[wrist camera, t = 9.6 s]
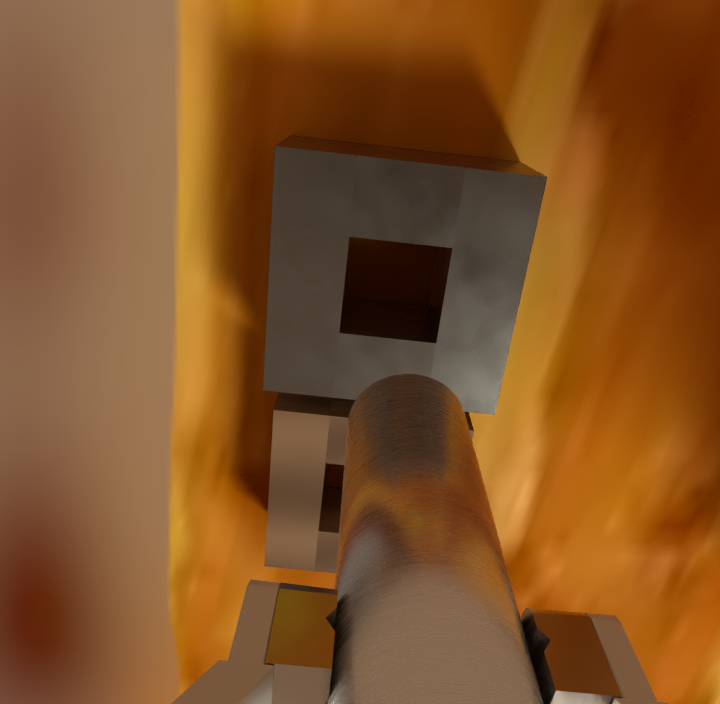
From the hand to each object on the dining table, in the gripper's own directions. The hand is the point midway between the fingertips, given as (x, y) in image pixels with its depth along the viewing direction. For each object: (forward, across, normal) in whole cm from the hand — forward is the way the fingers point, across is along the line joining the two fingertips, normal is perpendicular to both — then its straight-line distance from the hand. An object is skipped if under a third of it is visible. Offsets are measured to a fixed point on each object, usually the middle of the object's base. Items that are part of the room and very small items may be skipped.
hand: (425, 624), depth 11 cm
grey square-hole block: (+23, 0, 0) cm, 23 cm away
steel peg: (+7, 0, 0) cm, 7 cm away
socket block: (+23, 0, +12) cm, 26 cm away
